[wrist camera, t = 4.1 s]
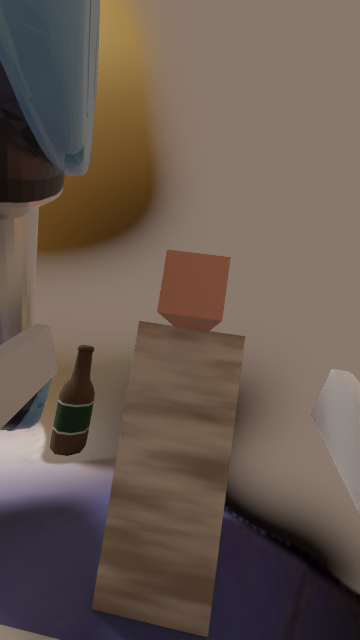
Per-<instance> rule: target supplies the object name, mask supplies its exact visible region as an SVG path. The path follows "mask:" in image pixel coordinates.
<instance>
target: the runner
mask: <svg viewBox="0 0 360 640" xmlns="http://www.w3.org/2000/svg"><path fill="white" fill-rule="evenodd" d="M0 640H59V639H55V638H51V637H47V636H43V635H40V634H36V633H32V632H28V631H24V630H20V629H16V628H12V627H8V626H5V625H1V624H0Z"/></svg>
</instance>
